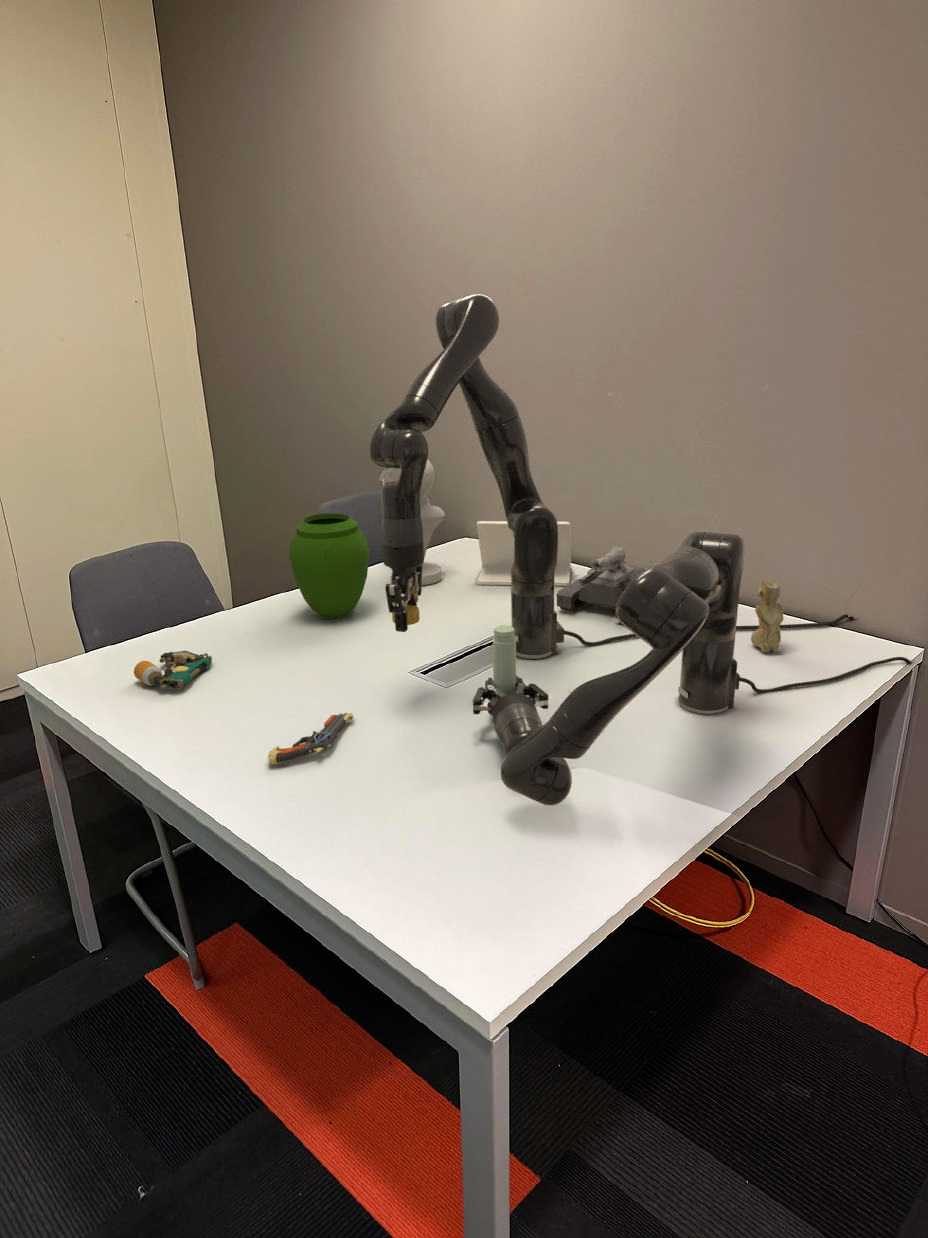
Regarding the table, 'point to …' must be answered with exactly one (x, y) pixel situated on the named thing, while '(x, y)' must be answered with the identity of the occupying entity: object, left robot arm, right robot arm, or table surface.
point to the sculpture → (768, 617)
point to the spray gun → (172, 669)
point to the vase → (329, 563)
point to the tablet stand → (500, 553)
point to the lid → (410, 614)
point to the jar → (504, 659)
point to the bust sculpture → (422, 517)
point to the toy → (599, 583)
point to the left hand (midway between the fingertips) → (406, 625)
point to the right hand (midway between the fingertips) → (502, 681)
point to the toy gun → (312, 740)
